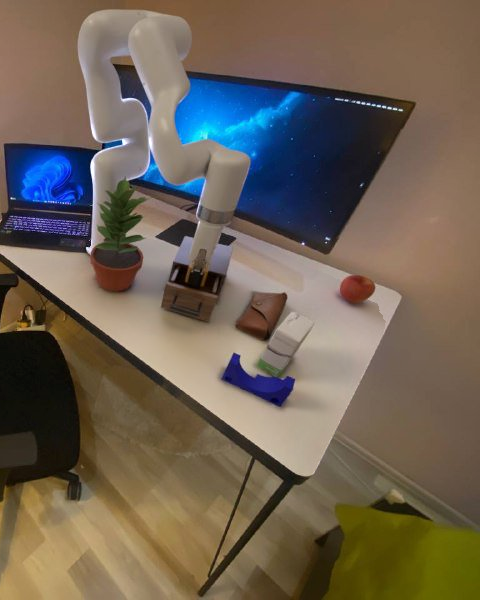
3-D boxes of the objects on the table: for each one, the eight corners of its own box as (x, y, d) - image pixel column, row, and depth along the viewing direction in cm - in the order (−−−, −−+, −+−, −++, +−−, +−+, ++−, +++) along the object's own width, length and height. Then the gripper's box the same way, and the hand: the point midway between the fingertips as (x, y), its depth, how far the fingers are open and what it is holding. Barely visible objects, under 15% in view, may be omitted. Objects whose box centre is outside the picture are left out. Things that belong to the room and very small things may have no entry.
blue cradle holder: (284, 391, 73) (296, 374, 69) (280, 407, 70) (292, 389, 66) (227, 365, 78) (235, 347, 74) (221, 379, 75) (229, 361, 71)
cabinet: (215, 303, 94) (226, 275, 87) (166, 289, 98) (173, 261, 92) (223, 274, 104) (233, 247, 97) (178, 262, 108) (185, 235, 102)
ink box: (277, 378, 75) (300, 342, 68) (255, 365, 78) (275, 329, 70) (292, 357, 80) (316, 321, 72) (271, 346, 82) (292, 309, 75)
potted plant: (109, 259, 109) (118, 162, 89) (149, 280, 101) (168, 179, 81) (76, 279, 101) (77, 178, 81) (116, 304, 93) (128, 198, 73)
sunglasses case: (253, 289, 97) (273, 278, 92) (270, 307, 97) (292, 297, 92) (233, 326, 86) (255, 315, 81) (252, 347, 86) (276, 337, 81)
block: (188, 272, 89) (192, 257, 86) (206, 276, 88) (211, 262, 85) (184, 281, 86) (188, 267, 83) (203, 286, 85) (207, 272, 82)
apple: (368, 300, 96) (385, 277, 90) (359, 312, 92) (376, 288, 87) (339, 287, 100) (354, 264, 95) (329, 298, 96) (344, 275, 91)
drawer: (205, 334, 84) (214, 311, 78) (155, 319, 87) (160, 295, 82) (216, 291, 96) (225, 268, 91) (172, 279, 100) (178, 256, 95)
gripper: (204, 193, 82) (187, 258, 94) (189, 225, 70) (172, 294, 82) (237, 200, 80) (216, 265, 92) (228, 233, 68) (204, 303, 80)
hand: (195, 278), depth 87 cm, fingers closed on block, 4 cm apart
